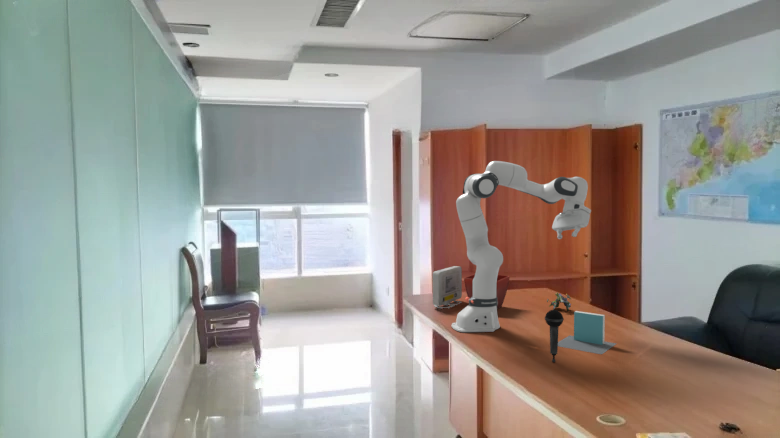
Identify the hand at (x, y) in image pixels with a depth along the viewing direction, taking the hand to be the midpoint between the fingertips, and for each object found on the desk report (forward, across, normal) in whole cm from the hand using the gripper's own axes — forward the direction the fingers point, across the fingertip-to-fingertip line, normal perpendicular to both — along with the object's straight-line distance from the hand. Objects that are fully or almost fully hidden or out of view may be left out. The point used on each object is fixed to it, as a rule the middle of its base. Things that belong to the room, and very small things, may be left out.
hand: (566, 237), depth 256 cm
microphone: (+61, +27, -14) cm, 68 cm away
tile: (+45, +15, +11) cm, 49 cm away
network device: (+36, -72, -9) cm, 81 cm away
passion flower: (+24, -34, +34) cm, 54 cm away
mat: (+48, +17, +8) cm, 51 cm away
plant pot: (+32, -57, +6) cm, 66 cm away
